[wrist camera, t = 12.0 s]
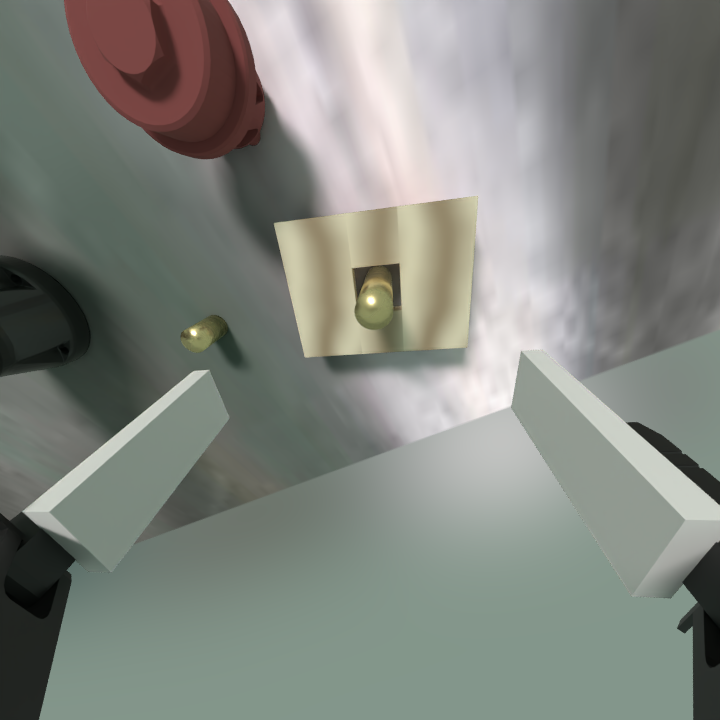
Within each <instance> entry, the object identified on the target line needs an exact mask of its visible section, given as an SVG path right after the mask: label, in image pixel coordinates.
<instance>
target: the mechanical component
mask: <svg viewBox="0 0 720 720" xmlns="http://www.w3.org/2000/svg"><path fill="white" fill-rule="evenodd" d="M64 4H65V12H66V18H67V23H68V27H69V31H70V35H71V38H72V41H73V44H74V47H75V50H76V52H77V54H78V56H79V59H80V61H81V63H82V65H83V67H84V69H85V71H86V73H87V74H88V76H89V78H90V80H91V81H92V83H93V84H94V85H95V87H96V88H97V90H98V91H99V93H100V94H101V95H102V96H103V97H104V99H105V100H106V101H107V102H108V103H109V104H110V105H111V106H112V107H113V108H114V109H115V110H116V111H117V112H118V113H119V114H121V115H122V116H123V117H125V118H126V119H127V120H129V121H131V122H132V123H134V124H136V125H137V126H140V127H142V128H143V130H144V131H145V132H146V133H148V134H149V135H150V136H151V137H152V138H153V139H154V140H156V141H157V142H158V143H160V144H161V145H163V146H164V147H166V148H168V149H170V150H171V151H174V152H176V153H179V154H182V155H185V156H189V157H193V158H198V159H214V158H218V157H221V156H223V155H225V154H227V153H229V152H230V151H232V150H233V149H240V148H243V147H245V146H247V145H249V144H250V145H257V144H258V143H259V141H260V130H261V127H262V125H263V120H264V115H265V99H264V93H263V88H262V85H261V82H260V79H259V77H258V75H257V73H256V70H255V64H254V58H253V54H252V51H251V47H250V43H249V41H248V38H247V35H246V32H245V30H244V28H243V26H242V24H241V21H240V19H239V17H238V16H237V14H236V12H235V11H234V9H233V7H232V6H231V4H230V3H229V1H228V0H64Z"/></svg>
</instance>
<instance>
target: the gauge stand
mask: <svg viewBox="0 0 720 720" xmlns="http://www.w3.org/2000/svg"><path fill="white" fill-rule="evenodd" d="M477 205H478V196H473V197H465V198H458V199H450V200H443V201H435V202H428V203H420V204H413V205H405V206H398V207H390V208H383V209H375V210H368V211H360V212H353V213H345V214H338V215H330V216H323V217H315V218H308V219H300V220H293V221H285V222H278V223H274V227H275V231H276V235H277V240H278V244H279V248H280V252H281V257H282V261H283V265H284V270H285V274H286V278H287V282H288V287H289V291H290V295H291V300H292V304H293V308H294V312H295V317H296V321H297V325H298V329H299V334H300V338H301V342H302V347H303V351H304V355H305V357H320V356H336V355H353V354H369V353H386V352H402V351H418V350H435V349H451V348H467V344H468V331H469V317H470V303H471V289H472V275H473V261H474V247H475V233H476V219H477ZM397 263H399V267H400V288H401V306H393V317H392V319H391V321H390V322H389V324H388V325H387V326H385V327H384V328H382V329H378V330H370V329H366V328H364V327H363V326H361V325H360V324H359V323H358V321H357V320H356V317H355V313H354V309H355V305H356V302H357V300H358V299H357V290H356V282H355V274H354V268H359V267H368V266H378V265H387V264H397Z"/></svg>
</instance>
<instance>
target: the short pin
mask: <svg viewBox="0 0 720 720" xmlns="http://www.w3.org/2000/svg"><path fill="white" fill-rule="evenodd" d="M227 331H228V326H227V323H226V322H225V320H224V319H223V318H221V317H219V316H217V315H211V316H209V317H207V318H205V319H203V320H202V321H200V322H198V323H196V324H195V325H193V326H191V327H189V328H188V329H186V330H184V331H183V332H182V333H181V341H182V344H183V345H184V346H185V347H186V348H187V349H188V350H190V351H192V352H196V353H199V352H202V351H204V350H205V349H206V348H208V347H209V346H210V345H212V344H213V343H214V342H216V341H217V340H218V339H220V338H221V337H222V336H224V335H225V334H226V333H227Z"/></svg>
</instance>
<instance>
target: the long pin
mask: <svg viewBox="0 0 720 720" xmlns="http://www.w3.org/2000/svg"><path fill="white" fill-rule="evenodd" d="M354 313H355V317H356V320H357V321H358V323H359V324H360V325H361V326H363V327H364V328H366V329H370V330H378V329H382V328H384V327H385V326H387V325H388V324H389V322H390V321H391V319H392V317H393V291H392V275H391V273H390V271H389V270H388V269H387V268H386V267H384V266H374V267H372V268H371V269H370V270H369V271H368V273H367V275H366V278H365V281H364V283H363V286H362V289H361V291H360V294H359V297H358V300H357V302H356V305H355V309H354Z"/></svg>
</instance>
